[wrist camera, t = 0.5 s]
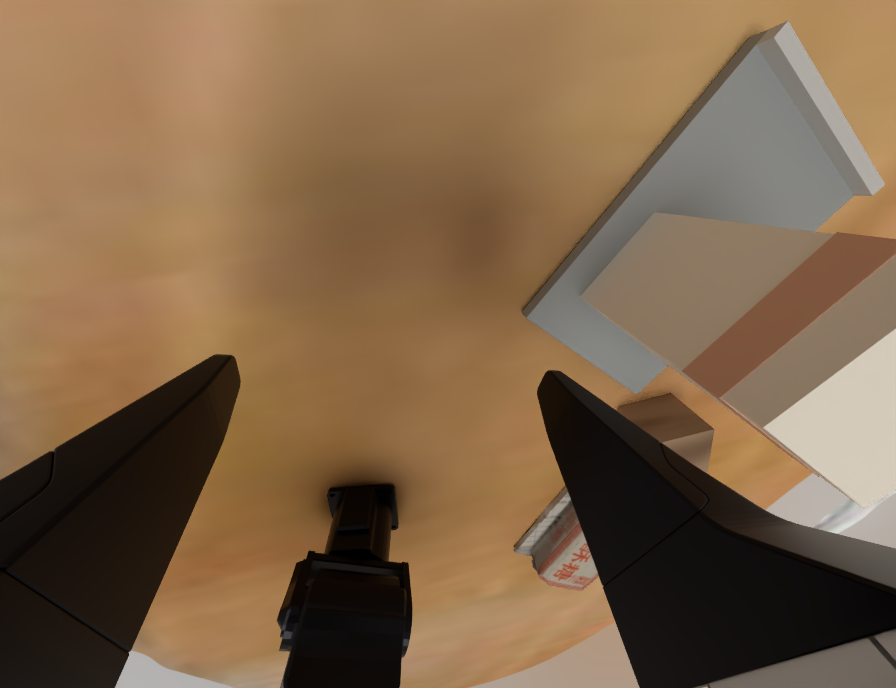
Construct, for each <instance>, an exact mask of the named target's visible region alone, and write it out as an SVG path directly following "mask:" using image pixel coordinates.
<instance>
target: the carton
mask: <svg viewBox="0 0 896 688" xmlns="http://www.w3.org/2000/svg"><path fill="white" fill-rule="evenodd" d="M580 298H581V299H582V300H584V301H585V302H586V303H588V304H589V305H590V306H591V307H593V308H594V309H595V310H597V311H598V312H599V313H600V314H602V315H603V316H604V317H606V318H607V319H608V320H610V321H611V322H612V323H613V324H615V325H616V326H617V327H619V328H620V329H621V330H622V331H624V332H625V333H626V334H628V335H629V336H630V337H631V338H633V339H634V340H635V341H637V342H638V343H639V344H640V345H642V346H643V347H644V348H646V349H647V350H648V351H649V352H651V353H652V354H653V355H655V356H656V357H657V358H659V359H660V360H662V361H663V362H664V363H666V364H667V365H668V366H670V367H671V368H673V369H674V370H675V371H677V372H678V373H679V374H681V375H682V376H683V377H685V378H686V379H688V380H689V381H690V382H692V383H693V384H694V385H696V386H697V387H699V388H700V389H701V390H703V391H704V392H705V393H707V394H708V395H709V396H711V397H712V398H714V399H715V400H716V401H718V402H719V403H720V404H722V405H723V406H725V407H726V408H727V409H729V410H730V411H731V412H733V413H734V414H735V415H737V416H738V417H740V418H741V419H742V420H744V421H745V422H746V423H748V424H749V425H751V426H752V427H753V428H755V429H756V430H757V431H758V432H760V433H761V434H762V435H763V436H765V437H766V438H767V439H769V440H770V441H771V442H772V443H774V444H775V445H776V446H777V447H779V448H780V449H782V450H783V451H784V452H786V453H787V454H788V455H790V456H791V457H792V458H794V459H795V460H797V461H798V462H799V463H801V464H802V465H803V466H805V467H806V468H807V469H809V470H810V471H812V472H813V473H814V474H816V475H817V476H818V477H819V476H820V477H822V478H823V479H824V480H826V481H827V482H828V483H830V484H831V485H833V486H834V487H835V488H837V489H838V490H839V491H841V492H842V493H844V494H845V495H846V496H848V497H849V498H850V499H852V500H853V501H854V502H856V503H857V504H859V505H860V506H861V507H863V508H865V507H867V506H869V505H871V504H872V503H874V502H876V501H877V500H879V499H881V498H882V497H884V496H886V495H888V494H889V493H891V492H893V491H894V490H896V239H889V238H881V237H873V236H864V235H856V234H847V233H839V232H837V233H836V234H830V233H822V232H814V231H806V230H797V229H789V228H781V227H773V226H765V225H757V224H749V223H741V222H732V221H724V220H716V219H708V218H700V217H692V216H684V215H675V214H667V213H659V212H654V213H653V214H652V216H651V217H650V218H649V219H648V220H647V221H646V222H645V223H644V225H643V226H642V227H641V228H640V229H639V230H638V231H637V232H636V234H635V235H634V236H633V237H632V238H631V239H630V240H629V241H628V243H627V244H626V245H625V246H624V247H623V248H622V249H621V251H620V252H619V253H618V254H617V255H616V256H615V257H614V258H613V260H612V261H611V262H610V263H609V264H608V265H607V266H606V267H605V269H604V270H603V271H602V272H601V273H600V274H599V275H598V276H597V278H596V279H595V280H594V281H593V282H592V283H591V284H590V286H589V287H588V288H587V289H586V290H585V291H584V292H583V293H582V295H581V296H580Z"/></svg>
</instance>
